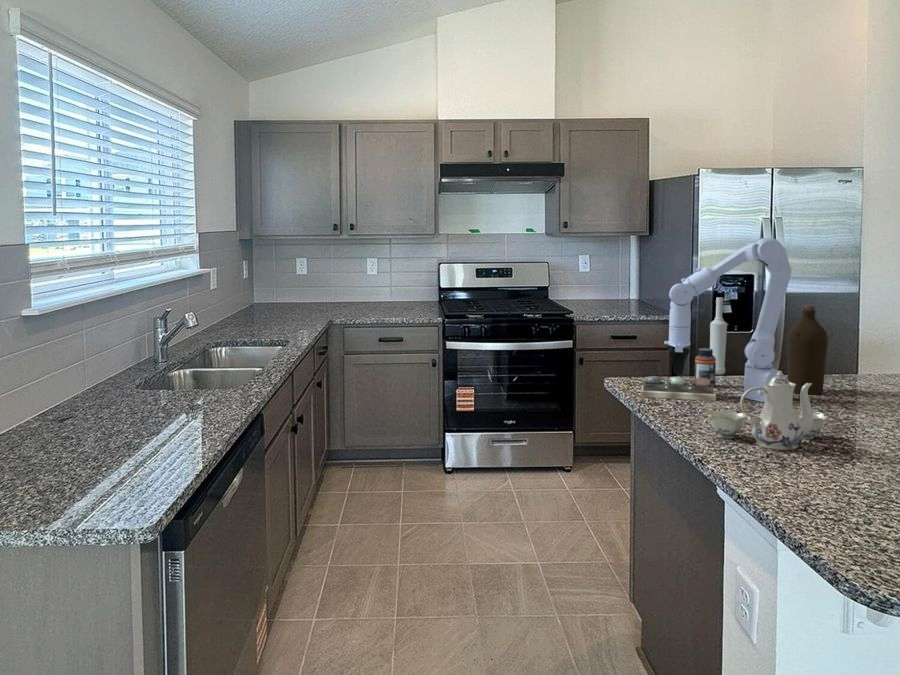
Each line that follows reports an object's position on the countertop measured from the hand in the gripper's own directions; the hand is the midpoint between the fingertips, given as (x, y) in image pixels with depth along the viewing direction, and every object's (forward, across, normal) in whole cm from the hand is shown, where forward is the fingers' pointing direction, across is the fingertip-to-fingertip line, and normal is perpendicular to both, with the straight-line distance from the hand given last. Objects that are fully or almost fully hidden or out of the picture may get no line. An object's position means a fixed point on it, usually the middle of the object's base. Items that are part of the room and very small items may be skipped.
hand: (678, 374), depth 218 cm
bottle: (+6, -41, +12) cm, 43 cm away
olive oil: (+6, -15, +35) cm, 39 cm away
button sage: (+3, 0, 0) cm, 3 cm away
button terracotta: (+3, 0, +6) cm, 7 cm away
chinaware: (+6, +46, +20) cm, 51 cm away
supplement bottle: (+6, -17, +8) cm, 19 cm away
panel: (+6, 0, 0) cm, 6 cm away
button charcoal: (+3, 0, -6) cm, 7 cm away
